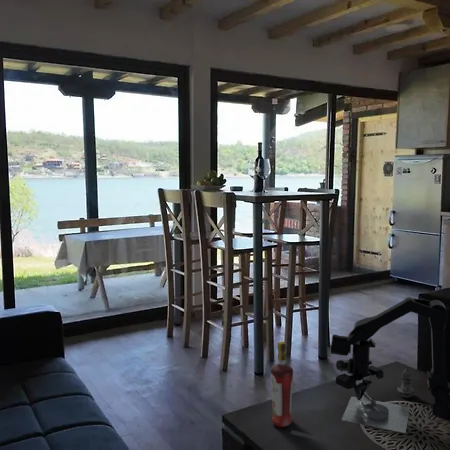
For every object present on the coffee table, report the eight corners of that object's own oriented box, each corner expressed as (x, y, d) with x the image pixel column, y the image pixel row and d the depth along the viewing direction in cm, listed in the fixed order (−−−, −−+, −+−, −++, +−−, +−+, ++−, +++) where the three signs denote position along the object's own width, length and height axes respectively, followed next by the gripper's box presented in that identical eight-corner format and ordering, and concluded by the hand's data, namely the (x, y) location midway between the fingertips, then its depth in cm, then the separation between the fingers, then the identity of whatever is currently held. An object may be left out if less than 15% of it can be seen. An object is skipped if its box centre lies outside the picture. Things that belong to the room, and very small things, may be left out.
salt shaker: (414, 404, 171) (415, 371, 170) (397, 401, 173) (398, 369, 172) (413, 396, 177) (414, 365, 175) (396, 394, 178) (397, 363, 177)
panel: (409, 410, 167) (409, 406, 167) (405, 436, 151) (405, 432, 150) (351, 399, 175) (351, 395, 175) (341, 423, 159) (341, 419, 159)
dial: (393, 419, 159) (393, 408, 158) (370, 422, 157) (371, 411, 157) (372, 399, 172) (372, 389, 172) (351, 401, 171) (351, 391, 170)
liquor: (267, 420, 161) (266, 340, 158) (286, 416, 164) (286, 337, 161) (277, 431, 155) (276, 348, 151) (297, 426, 157) (297, 344, 154)
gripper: (360, 345, 179) (358, 385, 181) (324, 354, 169) (323, 397, 171) (385, 355, 170) (383, 397, 172) (349, 365, 160) (347, 410, 161)
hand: (358, 399), depth 169 cm, fingers closed
